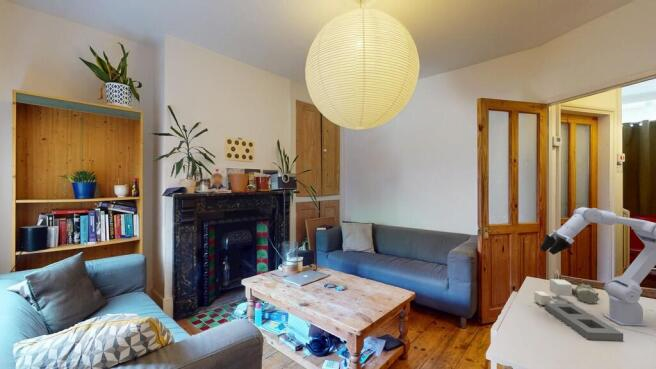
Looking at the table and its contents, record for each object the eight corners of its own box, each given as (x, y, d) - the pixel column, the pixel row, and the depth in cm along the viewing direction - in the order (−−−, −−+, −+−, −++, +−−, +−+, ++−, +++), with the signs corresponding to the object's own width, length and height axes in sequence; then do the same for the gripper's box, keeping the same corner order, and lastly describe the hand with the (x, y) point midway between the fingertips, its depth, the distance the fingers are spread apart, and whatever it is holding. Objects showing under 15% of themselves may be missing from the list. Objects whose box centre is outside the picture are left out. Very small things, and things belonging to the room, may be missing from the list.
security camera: (572, 304, 131) (572, 284, 131) (555, 303, 132) (555, 283, 132) (563, 298, 137) (563, 279, 137) (547, 297, 138) (547, 278, 138)
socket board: (572, 310, 125) (572, 303, 125) (623, 341, 101) (623, 333, 101) (544, 309, 127) (544, 303, 126) (588, 340, 103) (588, 332, 103)
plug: (543, 302, 134) (542, 291, 133) (550, 307, 129) (550, 295, 128) (534, 302, 134) (534, 291, 134) (541, 306, 129) (541, 295, 129)
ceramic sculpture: (573, 284, 133) (569, 276, 145) (573, 302, 133) (569, 292, 145) (604, 289, 127) (596, 280, 139) (604, 307, 127) (596, 297, 139)
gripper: (552, 221, 126) (530, 242, 127) (571, 224, 112) (546, 247, 113) (566, 232, 124) (544, 253, 126) (587, 236, 110) (562, 259, 112)
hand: (546, 251), depth 120 cm, fingers open, 7 cm apart
